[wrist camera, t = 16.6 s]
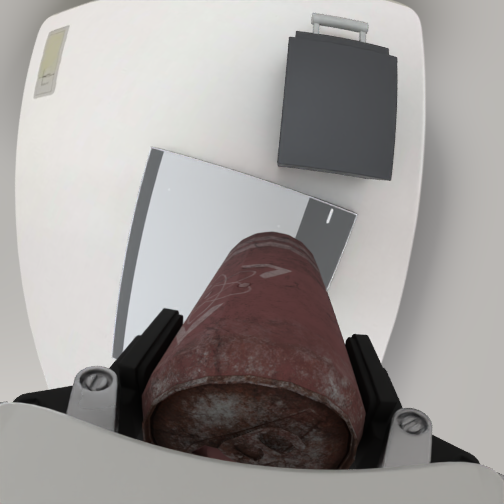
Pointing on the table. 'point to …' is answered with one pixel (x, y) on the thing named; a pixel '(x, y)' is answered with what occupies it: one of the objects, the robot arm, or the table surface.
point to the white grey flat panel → (209, 234)
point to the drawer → (341, 24)
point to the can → (259, 367)
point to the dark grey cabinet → (338, 110)
